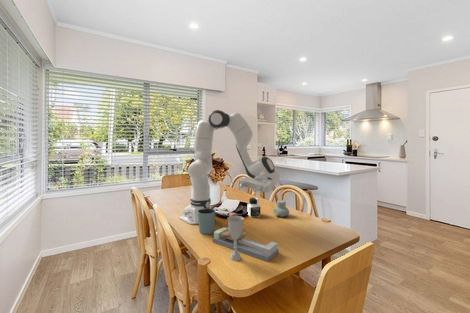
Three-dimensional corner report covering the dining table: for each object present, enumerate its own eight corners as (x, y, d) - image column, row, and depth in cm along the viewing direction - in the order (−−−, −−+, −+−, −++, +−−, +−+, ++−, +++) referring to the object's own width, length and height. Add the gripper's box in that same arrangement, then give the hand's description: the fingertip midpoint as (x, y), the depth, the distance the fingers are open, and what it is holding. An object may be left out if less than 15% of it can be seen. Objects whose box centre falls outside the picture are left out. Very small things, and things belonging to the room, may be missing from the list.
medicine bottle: (250, 217, 157) (250, 200, 156) (247, 214, 164) (247, 197, 163) (260, 216, 159) (260, 199, 158) (256, 213, 166) (256, 196, 165)
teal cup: (212, 235, 128) (212, 214, 127) (194, 234, 130) (194, 212, 129) (217, 228, 138) (217, 208, 137) (201, 227, 140) (200, 207, 139)
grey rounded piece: (271, 213, 165) (272, 199, 164) (282, 212, 167) (282, 198, 167) (279, 218, 155) (279, 204, 154) (290, 217, 157) (290, 203, 156)
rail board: (212, 241, 121) (212, 232, 120) (225, 235, 129) (225, 226, 128) (267, 261, 102) (267, 250, 101) (278, 252, 110) (278, 242, 109)
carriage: (220, 236, 119) (220, 213, 118) (230, 231, 125) (230, 210, 124) (236, 241, 113) (236, 218, 112) (246, 236, 119) (246, 213, 118)
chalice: (243, 253, 109) (243, 215, 107) (244, 261, 102) (244, 221, 100) (227, 254, 108) (227, 215, 107) (227, 261, 102) (227, 221, 100)
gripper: (247, 173, 145) (232, 179, 135) (276, 179, 132) (262, 186, 122) (247, 183, 147) (232, 189, 136) (276, 190, 133) (262, 198, 123)
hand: (246, 188), depth 129 cm, fingers open, 8 cm apart
